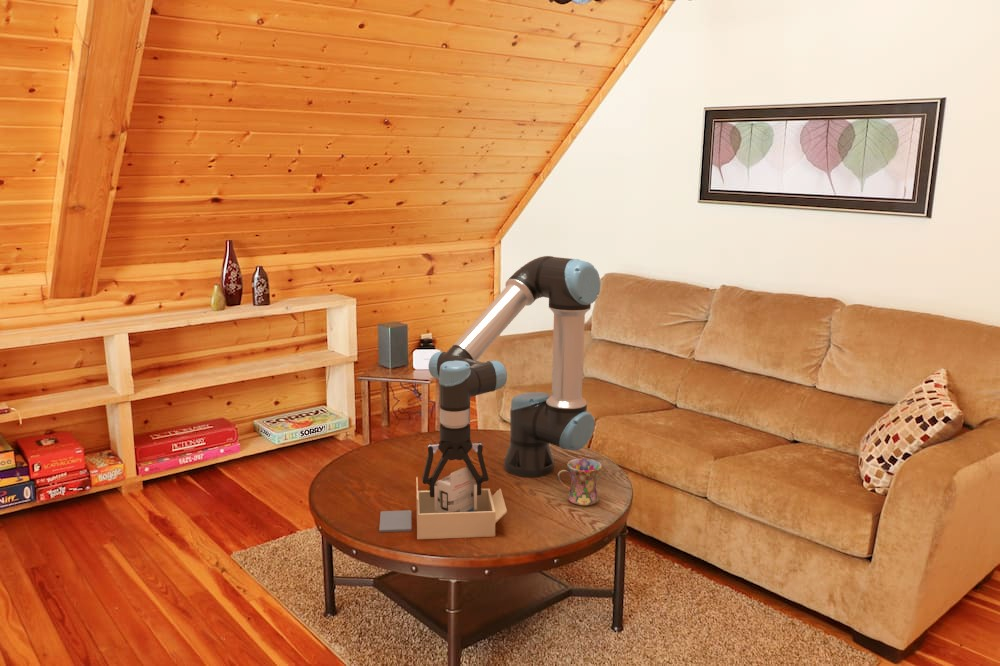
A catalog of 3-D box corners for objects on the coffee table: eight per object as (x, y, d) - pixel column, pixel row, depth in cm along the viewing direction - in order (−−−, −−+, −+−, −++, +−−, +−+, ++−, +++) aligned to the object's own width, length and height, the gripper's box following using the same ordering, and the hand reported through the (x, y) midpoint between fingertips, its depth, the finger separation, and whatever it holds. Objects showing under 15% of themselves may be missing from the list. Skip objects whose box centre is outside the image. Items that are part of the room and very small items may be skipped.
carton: (499, 506, 219) (499, 470, 217) (506, 535, 203) (507, 496, 201) (416, 509, 217) (416, 472, 215) (417, 539, 200) (416, 499, 198)
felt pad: (411, 512, 215) (411, 510, 215) (411, 531, 205) (411, 528, 205) (380, 513, 214) (380, 511, 214) (379, 532, 204) (379, 530, 204)
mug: (594, 493, 229) (596, 457, 227) (604, 507, 220) (606, 470, 218) (553, 495, 227) (554, 459, 225) (561, 509, 218) (562, 472, 216)
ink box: (459, 512, 213) (459, 459, 210) (474, 517, 210) (474, 463, 207) (436, 523, 207) (436, 468, 203) (451, 529, 204) (450, 473, 200)
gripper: (497, 417, 207) (496, 499, 212) (410, 419, 205) (412, 503, 210) (500, 427, 200) (500, 512, 205) (410, 429, 198) (412, 515, 203)
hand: (455, 507), depth 207 cm, fingers closed on ink box, 9 cm apart
